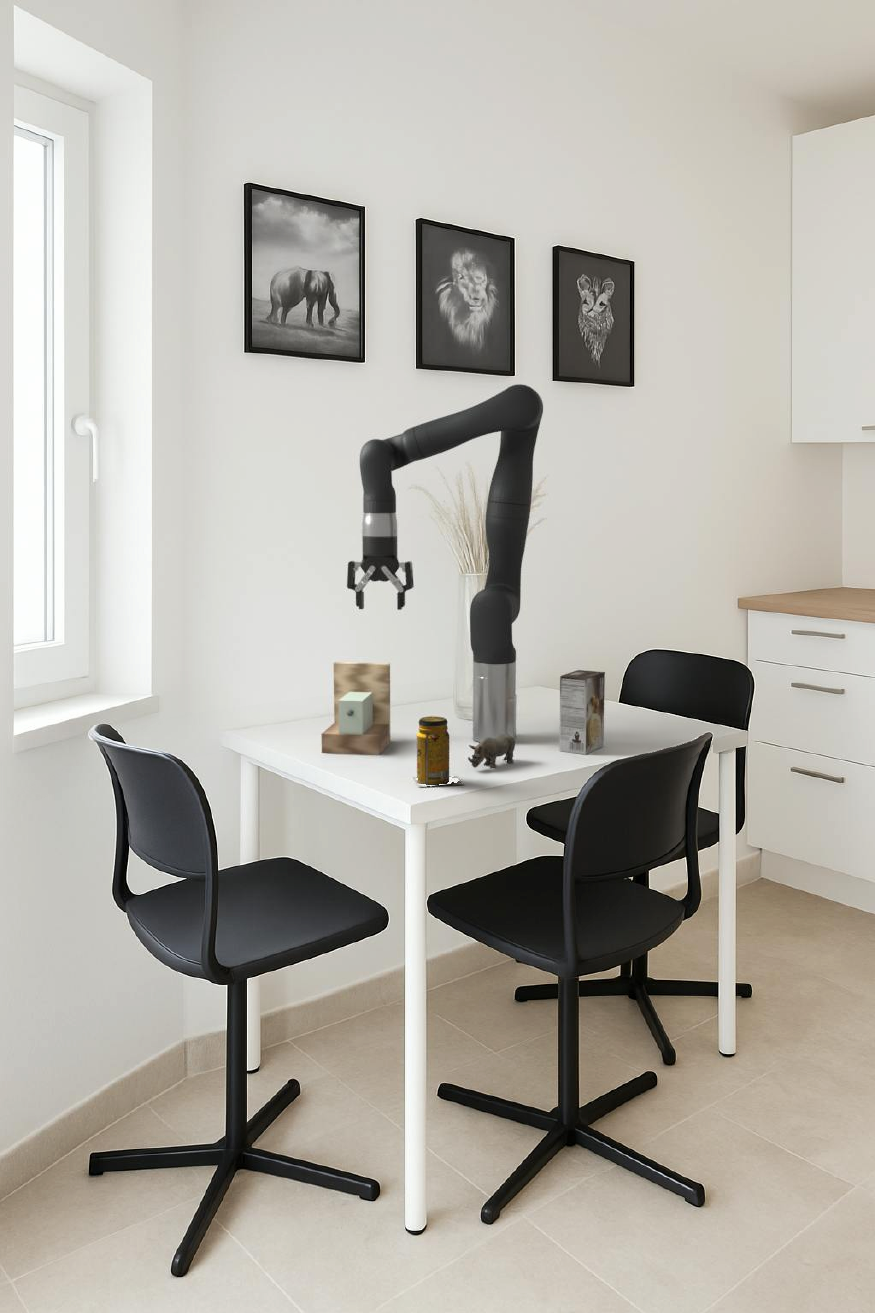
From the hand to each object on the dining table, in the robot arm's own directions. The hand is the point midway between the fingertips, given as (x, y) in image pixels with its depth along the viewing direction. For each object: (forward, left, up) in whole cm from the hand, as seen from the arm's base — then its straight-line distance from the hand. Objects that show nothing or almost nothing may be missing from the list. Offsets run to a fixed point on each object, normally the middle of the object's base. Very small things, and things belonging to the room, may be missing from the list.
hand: (380, 609), depth 232 cm
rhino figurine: (-26, +23, -28) cm, 45 cm away
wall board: (+3, +6, -28) cm, 29 cm away
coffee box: (-44, +6, -28) cm, 53 cm away
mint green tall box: (+3, +12, -24) cm, 27 cm away
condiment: (-18, +36, -28) cm, 49 cm away
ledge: (+3, +12, -28) cm, 31 cm away
